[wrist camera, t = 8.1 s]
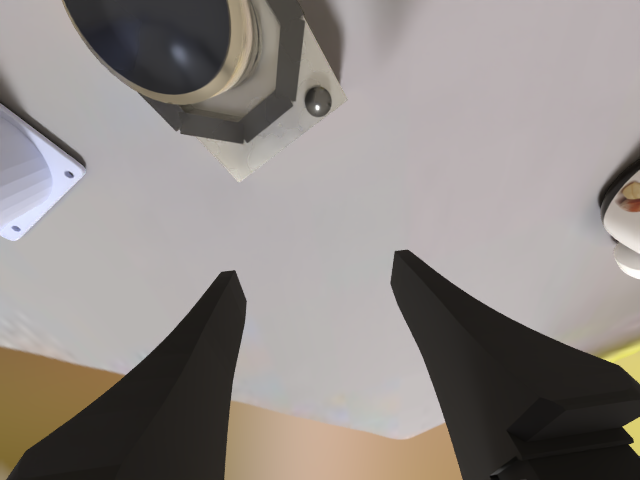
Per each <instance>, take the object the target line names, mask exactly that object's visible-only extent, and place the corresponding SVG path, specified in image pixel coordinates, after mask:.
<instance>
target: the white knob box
mask: <svg viewBox="0 0 640 480" xmlns="http://www.w3.org/2000/svg"><path fill="white" fill-rule="evenodd" d="M251 1H252V3H253V5H254V7H255V9H256V12H257V14H258V17H259V21H260V25H261V30H262V52H261V57H260V61H259V64H258V66H257V68H256V70H255V72H254V73H253V75H252V76H251V77H250V78H249V79H248V80H247V81H246V82H245V83H243V84H242V85H240V86H238V87H235V88H233V89H230V90H228V91H226V92H223V93H221V94H218V95H216V96H214V97H211V98H209V99H206V100H204V101H201V102H198V103H194V104H186V105H179V104H170V103H164V102H161V101H157V100H154V99H152V98H149V97H147V96H145V95H142V94H141V93H139V92H138V93H139V94H140V95H141V96H142V97H143V98H144V99H145V100H146V101H147V102H148V103H149V104H150V105H151V106H152V107H153V108H154V109H155V110H156V111H157V112H158V113H159V114H160V115H161V116H162V117H163V118H164V119H165V120H166V121H167V123H168V124H169V125H170V126H171V127H172V128H173V129H174V130H175V131H178V130H179V129H180V131H181V134H185V135H191V136H195V137H196V138H197V139H198V140H199V141H200V142H201V143H202V144H203V145H204V146H205V148H206V149H207V150H208V151H209V152H210V153H211V154H212V155H213V156H214V157H215V158H216V159H217V160H218V161H219V162H220V163H221V164H222V165H223V166H224V167H225V168H226V170H227V171H228V172H229V173H230V174H231V175H232V176H233V177H234V178H235V179H236V180H237V181H238V182H239V183H240V182H241V181H242V180H243V179H245V178H246V177H247V176H249V175H250V174H251V173H253V172H254V171H255V170H257V169H258V168H259V167H261V166H262V165H263V164H264V163H266V162H267V161H268V160H270V159H271V158H272V157H274V156H275V155H276V154H278V153H279V152H280V151H281V150H283V149H284V148H285V147H287V146H288V145H289V144H291V143H292V142H293V141H295V140H296V139H297V138H299V137H300V136H301V135H302V134H304V133H305V132H306V131H308V130H309V129H310V128H312V127H313V126H314V125H316V124H317V123H318V122H320V121H321V120H322V119H323V118H325V117H326V116H327V115H329V114H330V113H331V112H333V111H334V110H335V109H337V108H338V107H339V106H340V105H342V104H343V103H344V102H346V101H347V100H348V99H347V97H346V95H345V93H344V92H343V90H342V88H341V86H340V84H339V82H338V80H337V78H336V76H335V75H334V73H333V71H332V69H331V67H330V65H329V63H328V61H327V59H326V58H325V56H324V54H323V52H322V50H321V48H320V46H319V44H318V42H317V41H316V39H315V37H314V35H313V33H312V31H311V29H310V27H309V25H308V24H307V22H306V20H305V18H304V13H303V11H302V9H301V7H300V5H299V3H298V1H297V0H251Z"/></svg>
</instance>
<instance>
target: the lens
mask: <svg viewBox="0 0 640 480" xmlns="http://www.w3.org/2000/svg"><path fill="white" fill-rule="evenodd" d="M62 2H63V5H64V7H65V10H66V12H67V14H68V16H69V18H70V20H71V22H72V24H73V25H74V27H75V29H76V30H77V32H78V34H79V35H80V37H81V38H82V40H83V41H84V43H85V44H86V45H87V47H88V48H89V49H90V51H91V52H92V53H93V54H94V55H95V57H96V58H97V59H98V60H99V61H100V62H101V63H102V64H103V65H104V66H105V67H106V68H107V69H108V70H109V71H110V72H111V73H112V74H113V75H114V76H116V77H117V78H118V79H119V80H120V81H122V82H123V83H124V84H126V85H127V86H129V87H130V88H132V89H133V90H135V91H137V92H139V93H141V94H142V95H145V96H147V97H149V98H152V99H154V100H157V101H161V102H164V103H170V104H179V105H186V104H194V103H198V102H201V101H204V100H206V99H209V98H211V97H214V96H216V95H218V94H221V93H223V92H226V91H228V90H230V89H233V88H235V87H238V86H240V85H242V84H243V83H245V82H246V81H247V80H248V79H249V78H250V77H251V76H252V75H253V73H254V72H255V70H256V68H257V66H258V64H259V61H260V57H261V52H262V30H261V25H260V21H259V17H258V14H257V12H256V9H255V7H254V5H253V3H252V1H251V0H62Z"/></svg>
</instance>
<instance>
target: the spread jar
mask: <svg viewBox="0 0 640 480" xmlns="http://www.w3.org/2000/svg"><path fill="white" fill-rule="evenodd" d="M600 214H601V221H602V223H603V225H604V227H605V229H606V230H607V232H608V233H609V234H610V235H612V236H613V237H614V238H615V239H616V240H618V241H619V243H618V244H617V245H616V247H615V248H614V252H613V254H614V257H615V259H616V261H617V264H618V266H619V267H620V268H621V270H622V271H624V272H625V273H626V274H628V275H630V276H632V277H634V278H637V279H640V159H639V160H638V161H636V162H635V163H633V164H632V165H631V166H630V167H628V168H627V169H626V170H625V171H624V172H623V173H622V174H621V175H620V176H619V177H618V178H617V179H616V180H615V181H614V182H613V184H612V185H611V186H610V188H609V189H608V191H607V193H606V195H605V197H604V200H603V202H602V206H601V212H600Z"/></svg>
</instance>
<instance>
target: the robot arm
mask: <svg viewBox="0 0 640 480" xmlns="http://www.w3.org/2000/svg"><path fill="white" fill-rule="evenodd" d="M69 171H70V172H71V173H72V174H73V175H74V176H72V175H71V174H70V173H69ZM85 173H86V170H85V168H84V166H83V165H82V164H80V163H79V162H78V161H76V160H75V159H74V158H72V157H71V156H70V155H68V154H67V153H66V152H64V151H63V150H62V149H60V148H59V147H58V146H56V145H55V144H54V143H52V142H51V141H50V140H48V139H47V138H46V137H44V136H43V135H42V134H40V133H39V132H38V131H37V130H35V129H34V128H33V127H31V126H30V125H29V124H27V123H26V122H25V121H23V120H22V119H21V118H19V117H18V116H17V115H15V114H14V113H13V112H11V111H10V110H9V109H7V108H6V107H5V106H3V105H2V104H1V103H0V235H1V236H2V237H4V238H6V239H9V240H13V241H15V240H18V239H19V238H21V237H22V236H23V235H24V234H25V233H26V232H27V231H28V230H29V229H30V228H31V227H32V226H33V225H34V224H35V223H36V222H37V221H38V220H39V219H40V218H41V217H42V216H43V215H44V214H45V213H46V212H47V211H48V210H49V209H50V208H51V207H52V206H53V205H54V204H55V203H56V202H57V201H58V200H59V199H60V198H61V197H62V196H63V195H64V194H65V193H66V192H68V191H69V190H70V189H71V188H72V187H73V186H74V185H75V184H76V183H77V182H78V181H79V180H80V179H81V178H82V177H83V176H84V175H85ZM391 286H392V290H393V293H394V296H395V298H396V301H397V304H398V306H399V308H400V310H401V312H402V314H403V317H404V319H405V321H406V323H407V325H408V327H409V329H410V331H411V333H412V335H413V337H414V339H415V341H416V343H417V345H418V347H419V350H420V352H421V354H422V356H423V359H424V362H425V364H426V367H427V370H428V372H429V375H430V378H431V381H432V383H433V386H434V389H435V392H436V395H437V398H438V401H439V403H440V406H441V409H442V413H443V416H444V419H445V422H446V425H447V428H448V431H449V434H450V437H451V441H452V444H453V447H454V451H455V454H456V457H457V461H458V464H459V468H460V471H461V475H462V478H463V480H640V456H638V455H637V454H636V453H635V451H634V450H633V449H632V448H631V447H630V446H629V445H628V444H631V443H634V441H633V438H632V437H631V436H630V435H629V434H628V433H627V432H626V431H625V430H624V428H623V427H622V426H624V425H626V424H628V423H629V422H631V421H633V420H635V419H636V418H638V417H640V384H639V383H638V382H637V381H635V379H634V378H632V377H631V376H630V375H629V374H628V373H627V372H626V371H625V370H624V369H623V368H621V367H620V366H619V365H616V364H614V363H611V362H609V361H606V360H603V359H601V358H598V357H596V356H593V355H591V354H588V353H585V352H583V351H580V350H578V349H575V348H573V347H570V346H568V345H566V344H563V343H561V342H559V341H556V340H554V339H552V338H550V337H547V336H545V335H543V334H541V333H539V332H537V331H534V330H532V329H530V328H528V327H526V326H524V325H522V324H520V323H518V322H516V321H514V320H512V319H510V318H508V317H506V316H505V315H503V314H501V313H499V312H497V311H495V310H494V309H492V308H490V307H489V306H487V305H485V304H483V303H482V302H480V301H478V300H477V299H475V298H473V297H472V296H470V295H469V294H467V293H466V292H464V291H463V290H461V289H460V288H458V287H457V286H455V285H454V284H453V283H451V282H450V281H448V280H447V279H446V278H444V277H443V276H441V275H440V274H439V273H437V272H436V271H435V270H434V269H432V268H431V267H430V266H428V265H427V264H426V263H425V262H423V261H422V260H421V259H419V258H418V257H417V256H416V255H414V254H413V253H412V252H410V251H409V250H401V251H395V254H394V261H393V268H392V276H391ZM246 302H247V301H246V298H245V296H244V293H243V290H242V287H241V285H240V282H239V279H238V277H237V274H236V271H235V270H233V271H225V272H221V273H220V274H219V275H218V277H217V278H216V279H215V280H214V282H213V283H212V284H211V286H210V287H209V288H208V289H207V291H206V292H205V293H204V294H203V296H202V297H201V298H200V300H199V301H198V302H197V303H196V304H195V306H194V307H193V308H192V309H191V311H190V312H189V313H188V314H187V315H186V316H185V318H184V319H183V320H182V321H181V322H180V323H179V324H178V325H177V327H176V328H175V329H174V330H173V331H172V332H171V333H170V334H169V335H168V336H167V337H166V338H165V339H164V340H163V341H162V342H161V343H160V344H159V345H158V346H157V347H156V348H155V349H154V350H153V351H152V352H151V353H150V354H149V355H148V356H147V357H146V358H145V359H144V360H143V361H141V362H140V363H139V364H138V365H137V366H136V367H135V368H133V369H132V370H131V371H130V372H129V373H128V374H127V375H126V376H124V377H123V378H122V379H121V380H120V381H119V382H117V383H116V384H115V385H114V386H113V387H111V388H110V389H109V390H108V391H106V392H105V393H104V394H103V395H102V396H100V397H99V398H98V399H96V400H95V401H94V402H93V403H91V404H90V405H89V406H87V407H86V408H85V409H84V410H82V411H81V412H80V413H78V414H77V415H76V416H75V417H73V418H72V419H70V420H69V421H68V422H66V423H65V424H63V425H62V426H60V427H59V428H58V429H56V430H55V431H54V432H52V433H51V434H49V436H47V437H45V438H44V439H42V440H41V441H40V442H38V443H37V444H35V445H34V446H32V447H31V448H30V449H28V450H27V451H26V452H25V453H24V455H23V456H22V457H21V459H20V460H19V462H18V463H17V465H16V466H15V468H14V469H13V471H12V472H11V474H10V475H9V476H8V478H7V479H6V480H224V472H225V457H226V443H227V432H228V420H229V410H230V401H231V392H232V384H233V378H234V372H235V367H236V362H237V358H238V353H239V348H240V344H241V339H242V334H243V329H244V324H245V316H246Z"/></svg>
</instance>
